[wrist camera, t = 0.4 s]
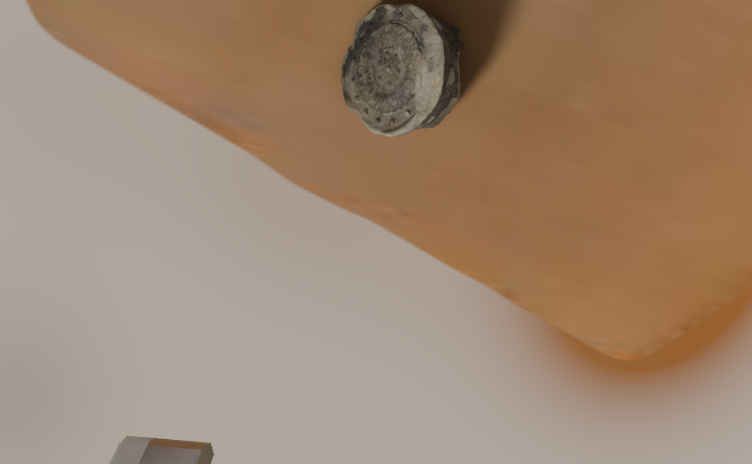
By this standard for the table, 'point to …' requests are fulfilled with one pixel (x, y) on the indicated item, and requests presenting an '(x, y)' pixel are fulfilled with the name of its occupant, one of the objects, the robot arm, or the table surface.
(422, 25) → the fossil
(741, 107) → the table surface
